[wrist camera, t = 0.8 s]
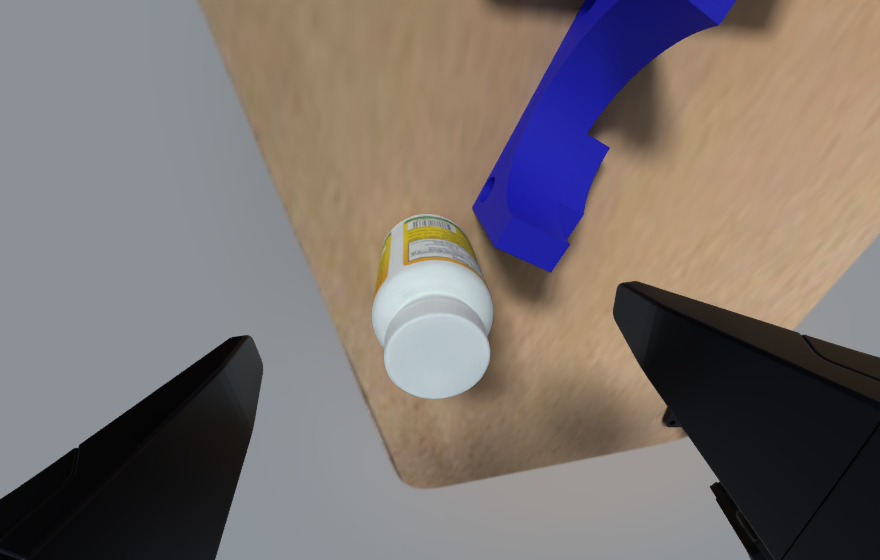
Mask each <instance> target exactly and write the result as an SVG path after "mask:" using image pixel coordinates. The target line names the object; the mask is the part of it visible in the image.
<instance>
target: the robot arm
mask: <svg viewBox="0 0 880 560" xmlns="http://www.w3.org/2000/svg"><path fill="white" fill-rule="evenodd" d="M613 316H614V319H615V321H616V323H617V325H618V327H619V329H620V331H621V332H622V334H623V336H624V338H625V340H626V342H627V343H628V345H629V347H630V349H631V351H632V353H633V354H634V356H635V358H636V360H637V362H638V363H639V365H640V367H641V368H642V370H643V371H644V373H645V374H646V376H647V377H648V379H649V380H650V382H651V383H652V385H653V386H654V387H655V389H656V390H657V392H658V393H659V395H660V396H661V398H662V399H663V400H664V402H665V403H666V405H667V406H668V410H667V412H666V415H665V417H664V419H663V422H664V423H665V424H666V426H667V427H682V428H683V429H684V431H685V432H686V433H687V435H688V436H689V438H690V439H691V440H692V442H693V443H694V445H695V446H696V448H697V449H698V451H699V452H700V453H701V455H702V456H703V458H704V459H705V460H706V462H707V463H708V465H709V466H710V468H711V469H712V471H713V472H714V473H715V475H716V476H717V478H718V479H719V481H720V482H719V483H717V482H716V483H714V484H713V485H711V486H710V488H711V490H712V491H713V493H714V494H715V496H716V501H717V502H718V504H719V506H720V507H721V509H722V510H723V512H724V514H725V515H726V517H727V519H728V521H729V522H730V524H731V525H732V527H733V529H734V530H735V532H736V534H737V535H738V537H739V539H740V540H741V542H742V543H743V545H744V547H745V549H746V550H747V552H748V555H749V557H750V559H751V560H880V358H879V357H876V356H872V355H869V354H866V353H862V352H859V351H855V350H852V349H849V348H846V347H842V346H839V345H836V344H833V343H829V342H826V341H823V340H820V339H817V338H813V337H810V336H807V335H800V333H798V332H795V331H791V330H788V329H785V328H782V327H779V326H776V325H773V324H769V323H766V322H763V321H760V320H757V319H754V318H751V317H747V316H744V315H741V314H738V313H735V312H732V311H729V310H726V309H722V308H719V307H716V306H713V305H710V304H707V303H704V302H700V301H697V300H694V299H691V298H688V297H685V296H682V295H678V294H675V293H672V292H669V291H666V290H663V289H660V288H656V287H653V286H650V285H647V284H644V283H641V282H637V281H632V282H625V283H621V284H619V285H618V287H617V291H616V296H615V302H614V308H613ZM262 375H263V364H262V360H261V358H260V355H259V353H258V350H257V348H256V345H255V343H254V340H253V339H252V337H251V336H248V335H245V336H237V337H232V338H229V339H228V340H226V341H225V342H224V343H222V344H221V345H219V346H218V347H217V348H215V349H214V350H212V351H211V352H210V353H208V354H207V355H205V356H204V357H203V358H201V359H200V360H198V361H197V362H195V363H194V364H193V365H191V366H190V367H189V368H187V369H186V370H185V371H183V372H181V373H180V374H179V375H177V376H176V377H174V378H173V379H172V380H170V381H169V382H167V383H166V384H164V385H163V386H162V387H160V388H159V389H157V390H156V391H155V392H153V393H152V394H150V395H149V396H148V397H146V398H145V399H143V400H142V401H140V402H139V403H138V404H136V405H135V406H134V407H132V408H131V409H129V410H128V411H126V412H125V413H123V414H122V415H121V416H119V417H118V418H117V419H115V420H114V421H112V422H111V423H109V424H108V425H107V426H105V427H104V428H103V429H101V430H100V431H98V432H97V433H95V434H94V435H92V436H91V437H90V438H88V439H87V440H85V441H84V442H83V443H81V444H80V445H79V447H78V448H74V449H72V450H71V451H70V452H68V453H67V454H66V455H64V456H63V457H61V458H60V459H58V460H57V461H56V462H55V463H53V464H51V465H50V466H49V467H47V468H46V469H44V470H43V471H42V472H40V473H39V474H37V475H35V476H34V477H33V478H31V479H30V480H28V481H27V482H25V483H24V484H22V485H21V486H20V487H18V488H17V489H15V490H14V491H12V492H11V493H9V494H7V495H6V496H4V497H3V498H1V499H0V560H215V558H216V555H217V551H218V548H219V544H220V541H221V538H222V534H223V530H224V527H225V524H226V521H227V517H228V514H229V510H230V507H231V503H232V500H233V497H234V493H235V490H236V486H237V483H238V480H239V476H240V473H241V469H242V466H243V462H244V459H245V456H246V453H247V449H248V445H249V442H250V439H251V435H252V431H253V427H254V421H255V416H256V410H257V404H258V398H259V392H260V386H261V380H262Z"/></svg>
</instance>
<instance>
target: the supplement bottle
mask: <svg viewBox="0 0 880 560" xmlns="http://www.w3.org/2000/svg"><path fill="white" fill-rule="evenodd" d="M372 322H373V328H374V331H375V334H376V336H377V338H378V340H379V342H380V344H381V345H382V346H383V348H384V363H385V367H386V370H387V372H388V375H389V376H390V378H391V380H392V381H393V382H394V383H395V384H396V385H397V386H398V387H400V388H401V389H402V390H404V391H405V392H407V393H409V394H412V395H414V396H417V397H421V398H426V399H442V398H448V397H452V396H455V395H458V394H461V393H463V392H465V391H466V390H468V389H470V388H471V387H472V386H474V385H475V384H476V383H477V382H478V381H479V380H480V379H481V378H482V376H483V375H484V373H485V371H486V369H487V367H488V365H489V361H490V346H489V341H488V338H487V336H488V334H489V332H490V329H491V326H492V322H493V304H492V299H491V296H490V293H489V290H488V288H487V285H486V282H485V280H484V277H483V275H482V272H481V270H480V268H479V265H478V263H477V260H476V257H475V255H474V252H473V249H472V247H471V244H470V242H469V240H468V238H467V236H466V234H465V233H464V231H463V230H462V229H461V228H460V227H459V226H458V225H457V224H455V223H454V222H452V221H451V220H449V219H447V218H445V217H442V216H438V215H433V214H420V215H415V216H412V217H409V218H407V219H405V220H403V221H401V222H400V223H398V224H397V225H396V226H395V227H394V228H393V229H392V230H391V231H390V232H389V234H388V235H387V237H386V239H385V241H384V243H383V246H382V251H381V256H380V263H379V270H378V276H377V282H376V289H375V295H374V301H373V309H372Z"/></svg>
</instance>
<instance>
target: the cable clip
mask: <svg viewBox="0 0 880 560" xmlns="http://www.w3.org/2000/svg"><path fill="white" fill-rule="evenodd" d="M735 1H736V0H585V1H584V3H583V5H582V6H581V8H580V10H579V12H578V14H577V16H576V17H575V19H574V21H573V23H572V25H571V27H570V28H569V30H568V32H567V34H566V36H565V38H564V40H563V41H562V43H561V45H560V47H559V49H558V51H557V52H556V54H555V56H554V58H553V60H552V62H551V63H550V65H549V67H548V69H547V71H546V73H545V74H544V76H543V78H542V80H541V82H540V84H539V86H538V87H537V89H536V91H535V93H534V95H533V97H532V98H531V100H530V102H529V104H528V106H527V108H526V109H525V111H524V113H523V115H522V117H521V119H520V121H519V122H518V124H517V126H516V128H515V130H514V132H513V133H512V135H511V137H510V139H509V141H508V143H507V144H506V146H505V148H504V150H503V152H502V154H501V155H500V157H499V159H498V161H497V163H496V165H495V167H494V168H493V170H492V172H491V174H490V176H489V178H488V179H487V181H486V183H485V185H484V187H483V189H482V190H481V192H480V194H479V196H478V198H477V200H476V201H475V203H474V205H473V207H472V208H473V210H474V212H475V214H476V215H477V217H478V219H479V221H480V222H481V224H482V226H483V228H484V229H485V231H486V233H487V235H488V236H489V238H490V240H491V242H492V243H493V245H494V247H496V248H498V249H500V250H502V251H505V252H507V253H509V254H511V255H513V256H516V257H518V258H520V259H522V260H524V261H527V262H529V263H531V264H533V265H535V266H537V267H540V268H542V269H544V270H546V271H548V272H552V270H553V269H554V267H555V266H556V265H557V263H558V262H559V260H560V259H561V257H562V256H563V254H564V253H565V251H566V250H567V248H568V247H569V245H570V244H569V243H568V241H567V239H568V237H569V236H570V234H571V233H572V231H573V230H574V228H575V227H576V225H577V224H578V222H579V221H580V219H581V218H582V216H583V215H584V208H585V203H586V199H587V195H588V192H589V189H590V186H591V183H592V181H593V178H594V176H595V174H596V172H597V170H598V168H599V166H600V164H601V162H602V160H603V159H604V157H605V155H606V153H607V152H608V150H609V149H610V148H609V147H608V146H606V145H604V144H603V143H601V142H599V141H598V140H596V139H594V138H593V137H591V136H589V135H588V134H587V133H588V131H589V130H590V128H591V127H592V125H593V124H594V122H595V121H596V119H597V118H598V117H599V115H600V114H601V113H602V111H603V110H604V109H605V107H606V106H607V105H608V104H609V102H610V101H611V100H612V99H613V98H614V97H615V95H616V94H617V93H618V92H619V91H620V90H621V89H622V88H623V87H624V86H625V85H626V83H627V82H628V81H629V80H630V79H631V78H633V77H634V76H635V75H636V74H637V73H638V72H639V71H640V70H641V69H642V68H643V67H644V66H646V65H647V64H648V63H649V62H650V61H652V60H653V59H654V58H655V57H657V56H658V55H659V54H661V53H662V52H664V51H665V50H666V49H668V48H669V47H671V46H672V45H674V44H676V43H677V42H679V41H681V40H682V39H684V38H686V37H688V36H690V35H692V34H694V33H696V32H699V31H702V30H704V29H707V28H710V27H714V26H718V25H720V23H721V22H722V20H723V19H724V17H725V16H726V14H727V13H728V11H729V10H730V8H731V7H732V6H733V4H734V3H735Z"/></svg>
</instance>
